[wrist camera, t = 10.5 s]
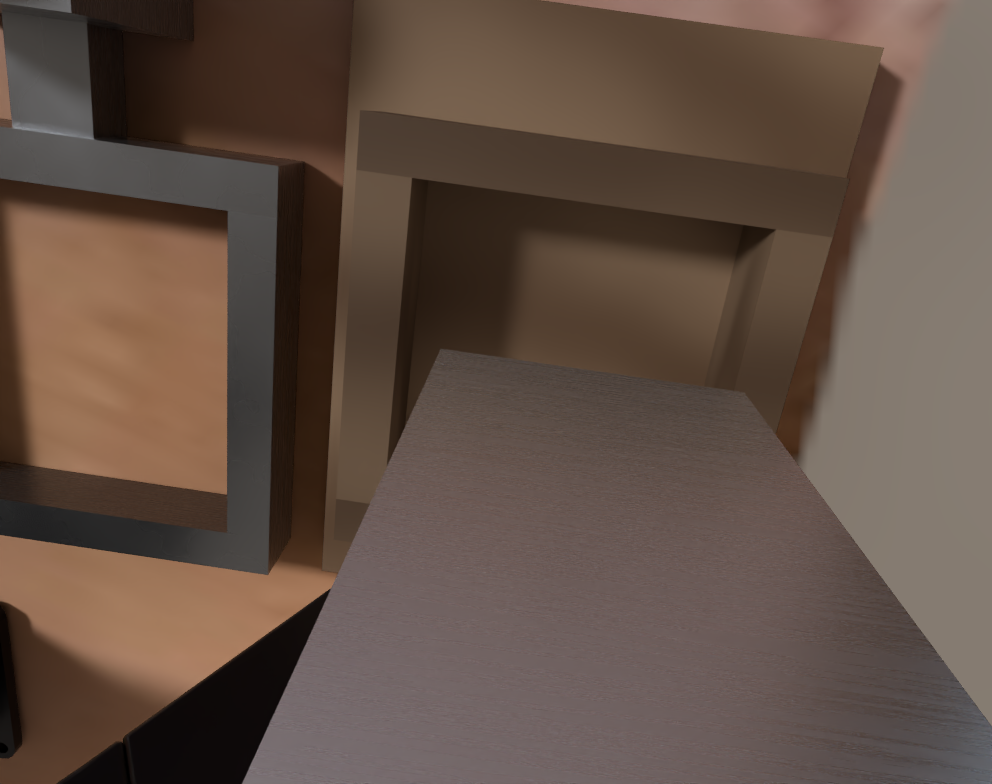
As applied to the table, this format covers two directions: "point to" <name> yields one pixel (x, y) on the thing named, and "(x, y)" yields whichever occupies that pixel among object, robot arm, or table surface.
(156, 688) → the table surface
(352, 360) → the brown open tray
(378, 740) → the brushed grey square post
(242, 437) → the socket block
